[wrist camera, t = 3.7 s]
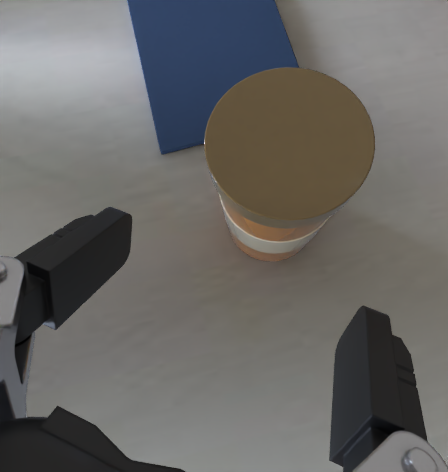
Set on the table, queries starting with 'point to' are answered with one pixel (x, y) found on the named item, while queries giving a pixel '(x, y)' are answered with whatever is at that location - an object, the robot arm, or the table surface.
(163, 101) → the blue rectangular panel
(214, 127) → the honey jar
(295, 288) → the table surface
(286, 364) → the table surface
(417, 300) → the table surface
